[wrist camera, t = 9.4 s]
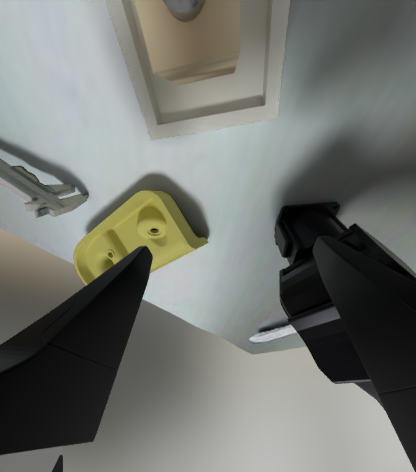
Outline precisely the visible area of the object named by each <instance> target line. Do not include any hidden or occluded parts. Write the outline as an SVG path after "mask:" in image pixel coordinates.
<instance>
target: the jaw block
mask: <svg viewBox="0 0 416 472" xmlns="http://www.w3.org/2000/svg"><path fill="white" fill-rule="evenodd" d="M134 1H135V5H136V9H137V13H138V16H139V20H140V24H141V28H142V32H143V36H144V39H145V43H146V47H147V51H148V55H149V59H150V62H151V66H152V70H153V73H154V74H156V75H159V76H161V77H163V78H165V79H167V80H169V81H171V82H173V83H175V84H177V85H184V84H188V83H192V82H197V81H201V80H206V79H210V78H215V77H219V76H223V75H228V74H232V73H234V72H235V69H236V65H237V62H238V58H239V54H240V0H134Z"/></svg>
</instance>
